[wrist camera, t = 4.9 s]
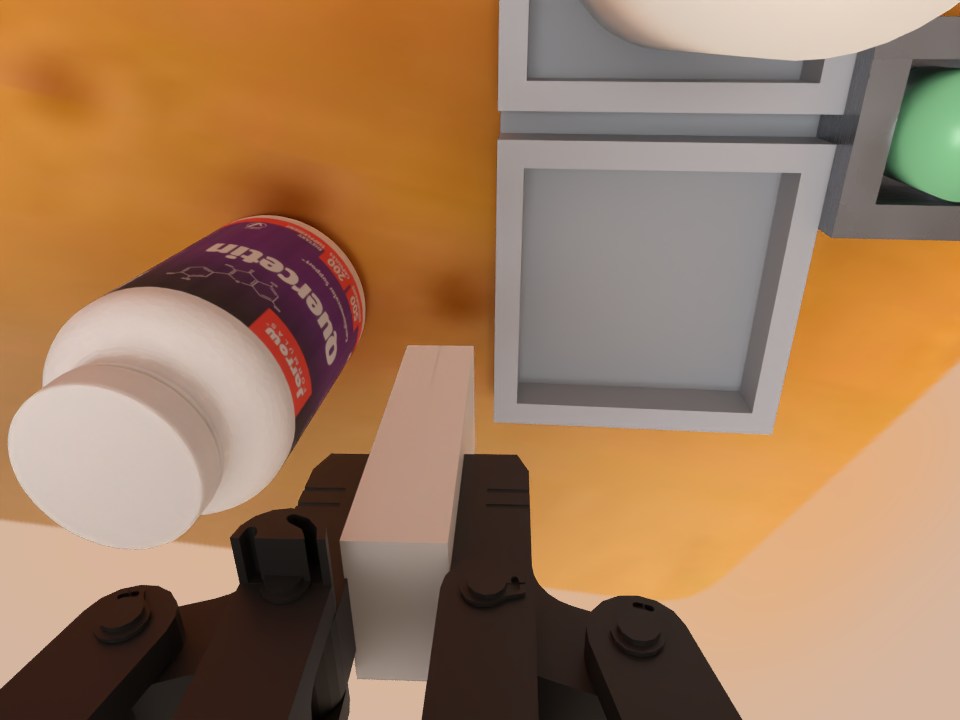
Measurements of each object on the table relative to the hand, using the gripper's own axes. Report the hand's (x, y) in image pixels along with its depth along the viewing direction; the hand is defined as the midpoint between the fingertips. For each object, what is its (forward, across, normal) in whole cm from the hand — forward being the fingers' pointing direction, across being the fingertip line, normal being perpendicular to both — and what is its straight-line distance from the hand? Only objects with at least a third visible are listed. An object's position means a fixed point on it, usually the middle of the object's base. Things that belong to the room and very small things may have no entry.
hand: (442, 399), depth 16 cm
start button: (+13, +17, +5) cm, 22 cm away
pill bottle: (+16, -9, -3) cm, 19 cm away
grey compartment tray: (+15, +7, +5) cm, 17 cm away
